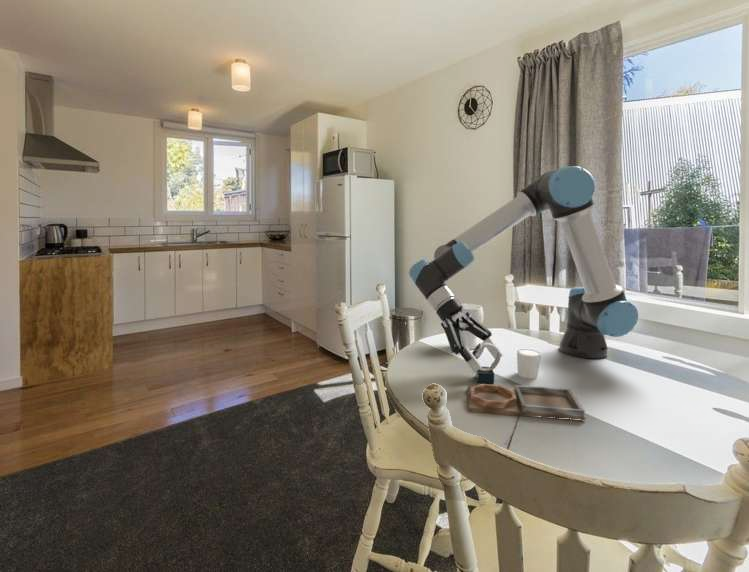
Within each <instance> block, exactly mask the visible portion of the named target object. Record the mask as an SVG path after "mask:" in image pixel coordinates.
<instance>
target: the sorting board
mask: <svg viewBox="0 0 749 572" xmlns="http://www.w3.org/2000/svg"><path fill="white" fill-rule="evenodd" d="M467 400H468V411H469V412H474V413H483V414H495V415H508V416H516V415H519V416H520V415H521V416H520V417H527V416H541V417H553V418H554V417H555V418H569V419H570V418H571V419H581V420H585V421H586V417H585V412H586V411H585V409H584V408H583V406H582V405H581V404H580V402H579V401H578V399H577V398H576V396H575V395H574V394H573V392H572V391H571V388H558V387H546V386H545V387H544V386H532V385H531V386H530V385H522V384H521V385H520V384H519V385H518V384H515V385H514V389H510V388H509V387H505V386H504V385H500V384H477V385H474V386H470V385H469V386H467ZM519 416H518V417H519Z"/></svg>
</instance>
